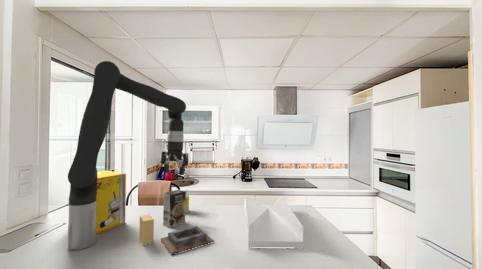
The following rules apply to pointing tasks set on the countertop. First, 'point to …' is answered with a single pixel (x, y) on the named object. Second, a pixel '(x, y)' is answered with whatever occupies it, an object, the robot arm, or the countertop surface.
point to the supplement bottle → (186, 201)
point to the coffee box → (174, 208)
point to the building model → (272, 225)
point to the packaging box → (110, 200)
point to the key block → (146, 229)
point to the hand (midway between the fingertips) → (173, 173)
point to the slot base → (185, 239)
